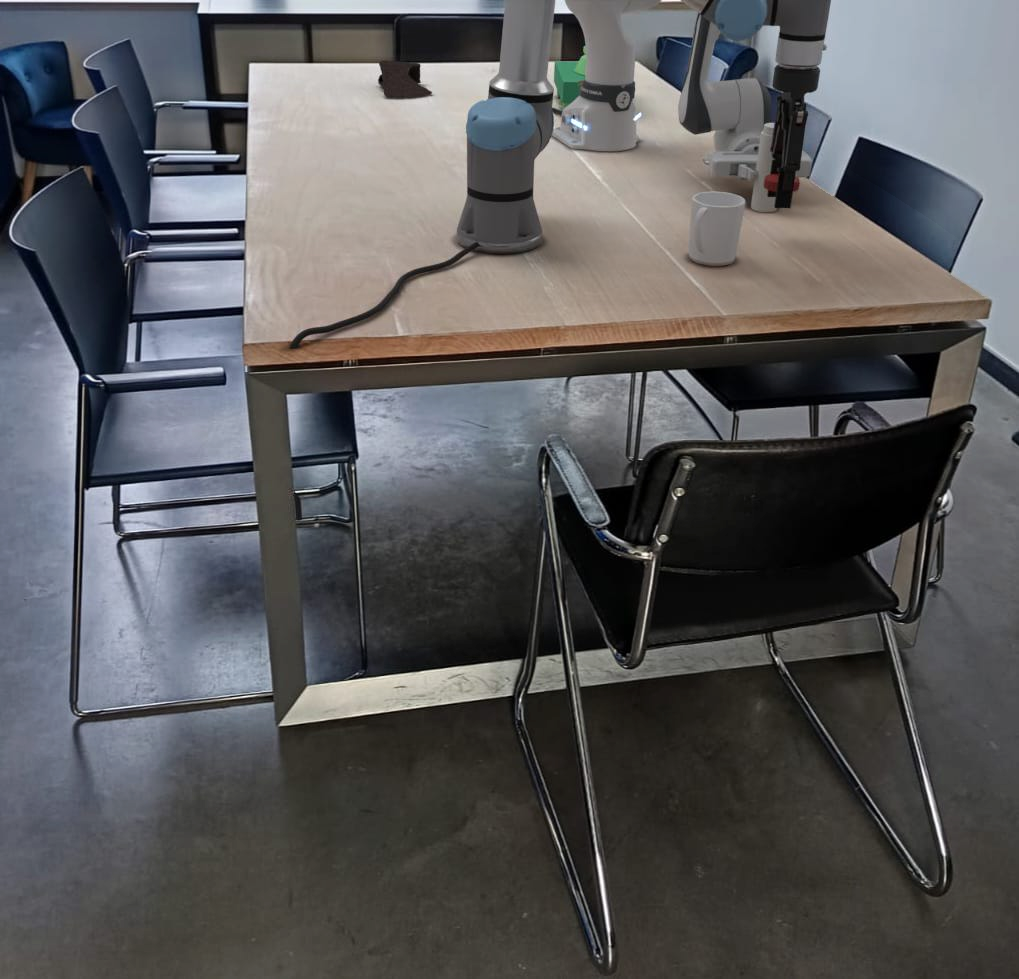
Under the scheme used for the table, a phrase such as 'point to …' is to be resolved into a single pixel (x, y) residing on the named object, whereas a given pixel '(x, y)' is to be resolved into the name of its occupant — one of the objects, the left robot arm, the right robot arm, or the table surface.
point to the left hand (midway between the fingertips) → (778, 201)
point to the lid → (772, 181)
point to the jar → (763, 172)
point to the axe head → (401, 79)
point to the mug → (715, 227)
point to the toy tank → (569, 79)
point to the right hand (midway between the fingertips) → (770, 175)
